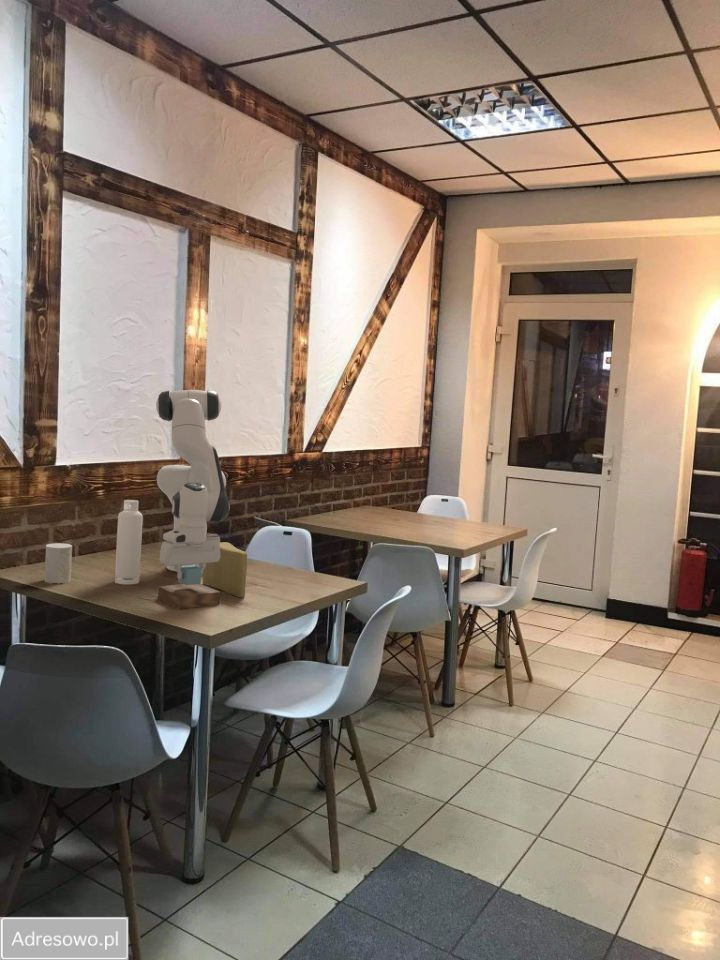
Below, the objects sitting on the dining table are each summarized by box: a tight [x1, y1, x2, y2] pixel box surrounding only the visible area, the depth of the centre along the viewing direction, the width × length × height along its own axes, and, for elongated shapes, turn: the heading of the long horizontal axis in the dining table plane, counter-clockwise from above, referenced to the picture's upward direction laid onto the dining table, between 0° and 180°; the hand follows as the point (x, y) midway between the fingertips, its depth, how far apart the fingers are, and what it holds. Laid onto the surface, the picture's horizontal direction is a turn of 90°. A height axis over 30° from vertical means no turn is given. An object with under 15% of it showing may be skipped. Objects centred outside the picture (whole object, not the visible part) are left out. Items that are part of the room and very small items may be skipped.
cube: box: [177, 565, 202, 585], centre depth 251 cm, size 5×5×5 cm
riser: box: [157, 583, 221, 610], centre depth 252 cm, size 14×14×4 cm
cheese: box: [202, 541, 248, 598], centre depth 270 cm, size 22×10×15 cm, turn 36°
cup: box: [44, 542, 73, 585], centre depth 265 cm, size 8×8×12 cm
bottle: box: [114, 499, 144, 585], centre depth 271 cm, size 8×8×28 cm
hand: (189, 577), depth 251 cm, fingers closed on cube, 5 cm apart
